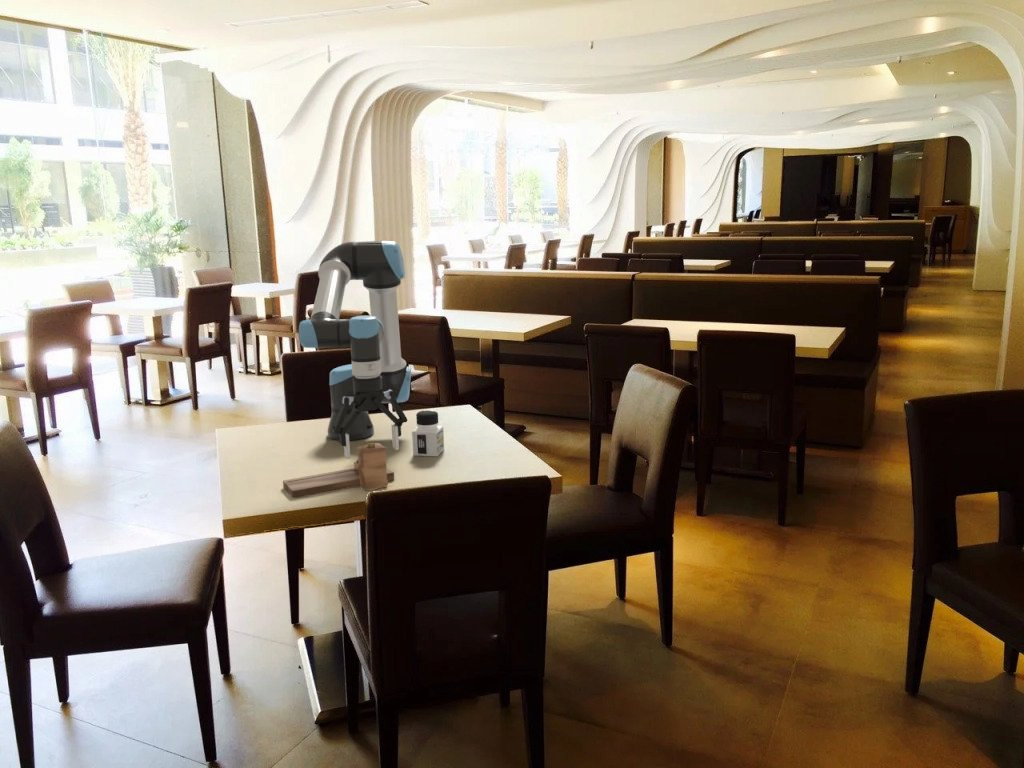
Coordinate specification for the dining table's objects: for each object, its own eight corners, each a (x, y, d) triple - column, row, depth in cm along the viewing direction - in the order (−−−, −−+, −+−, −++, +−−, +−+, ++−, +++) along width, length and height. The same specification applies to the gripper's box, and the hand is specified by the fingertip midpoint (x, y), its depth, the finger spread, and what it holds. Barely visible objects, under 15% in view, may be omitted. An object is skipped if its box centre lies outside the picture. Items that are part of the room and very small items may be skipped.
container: (437, 456, 246) (435, 414, 244) (412, 455, 248) (410, 414, 245) (444, 449, 254) (442, 408, 251) (420, 448, 255) (418, 408, 253)
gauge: (348, 476, 229) (346, 435, 227) (369, 472, 232) (366, 432, 229) (366, 490, 217) (363, 447, 214) (387, 486, 220) (385, 444, 217)
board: (283, 487, 221) (282, 480, 221) (381, 469, 235) (381, 462, 234) (293, 498, 213) (292, 490, 212) (394, 479, 226) (393, 472, 226)
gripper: (324, 384, 205) (330, 465, 210) (416, 372, 217) (420, 448, 222) (316, 378, 211) (322, 457, 216) (406, 367, 223) (409, 441, 228)
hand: (372, 452), depth 219 cm, fingers open, 13 cm apart
